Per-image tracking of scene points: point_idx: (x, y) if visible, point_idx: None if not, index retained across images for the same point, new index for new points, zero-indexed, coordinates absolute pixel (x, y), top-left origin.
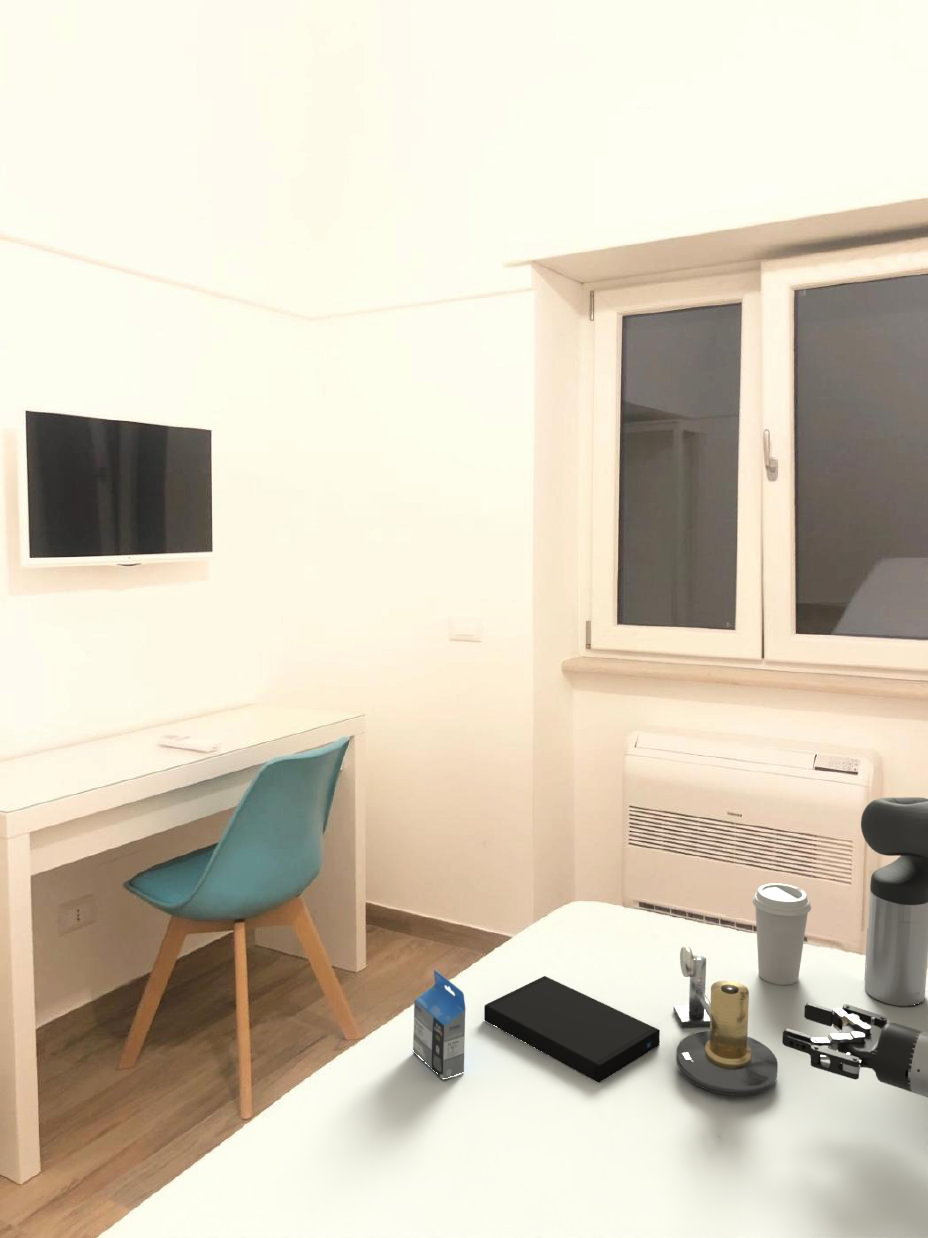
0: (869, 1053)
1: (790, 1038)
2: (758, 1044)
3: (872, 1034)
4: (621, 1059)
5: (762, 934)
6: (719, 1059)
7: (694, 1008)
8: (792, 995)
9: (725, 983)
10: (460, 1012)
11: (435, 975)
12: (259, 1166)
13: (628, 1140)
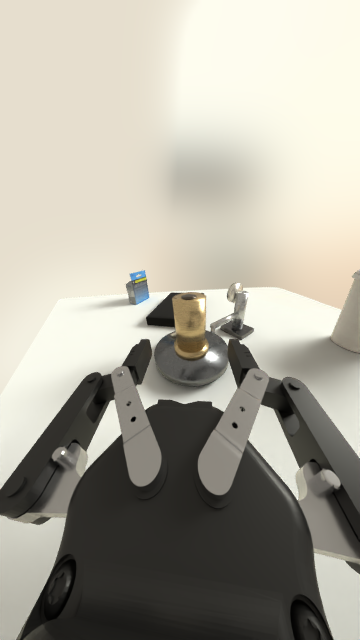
0: (60, 552)
1: (132, 349)
2: (224, 357)
3: (217, 517)
4: (162, 321)
5: (346, 303)
6: (174, 343)
7: (232, 323)
8: (345, 358)
9: (197, 294)
10: (130, 281)
11: (144, 272)
12: (82, 300)
13: (101, 344)
